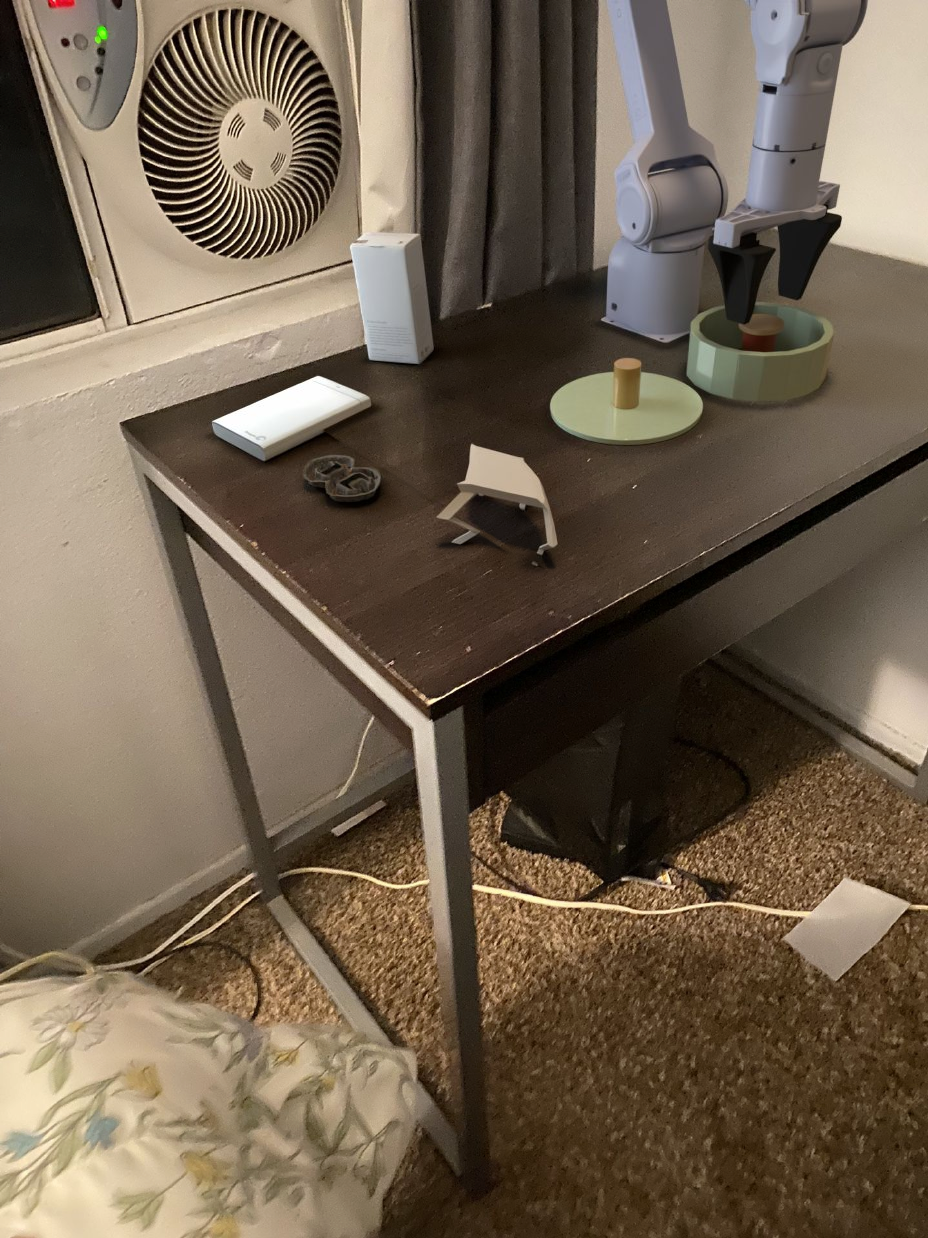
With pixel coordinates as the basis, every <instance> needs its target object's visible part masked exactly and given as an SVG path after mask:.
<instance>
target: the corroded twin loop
mask: <svg viewBox="0 0 928 1238" xmlns="http://www.w3.org/2000/svg"><path fill="white" fill-rule="evenodd" d="M333 469H334V470H333ZM381 476H382V474H381V473H380V472H379V470H378V469H377V468H376V467H372V466H356V467H355V458H354V457H351V456H349V455H346V454H345V455H342V454H328V455H323V456H318V457H314V458H312V459H309V460H308V461H307V462H306V464H305V465H304V467H303V468H302V478H303V479H305V480H307V481H308V484H309V485H311V487H313V488H321V489H325V491H326V494H328V495H329V497H330V499H332V500H333V501H335V502H337V503H339V502H340V503H341V502H342V503H343V502H344V503H354V502H360V501H363V500H370V499H371V498H373V497H374V496H375V493H376V490H377V489H378V488H379V486H380V483H381ZM346 485H348V486H349V487H350V488H349V487H347V486H346Z"/></svg>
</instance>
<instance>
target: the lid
mask: <svg viewBox="0 0 928 1238" xmlns="http://www.w3.org/2000/svg"><path fill="white" fill-rule="evenodd" d="M642 365H643V364H642V361H641V360H640V359H638V358H633V357H622V358H619V359H616V360H615V361H614V362H613V371H607V372H600V373H595V374H590V375H587V376H583V377H580V378H577V379H575V380H572V381H570V382H568V383H566V384H564V385H563V386H562V387H560V388H559V389H558V390H557V391H556V392H555V393H554V394H553V395H552V397H551V399H550V403H549V413H550V416H551V419H552V420H553V421H554V423H555V424H556V425H557V427H559V428H560V429H562V430H563V431H565V432H566V433H568V434H570V435H572V436H574V437H577V438H579V439H582V440H586V441H590V442H595V443H598V444H606V445H615V446H638V445H639V446H640V445H649V444H656V443H661V442H664V441H668V440H671V439H674V438H677V437H679V436H681V435H684V434H686V433H687V432H689V431H690V430H692V429H693V428H695V426H697V424H698V423H699V422H700V421H701V418H702V416H703V411H704V402H703V400H702V397H701V396H700V395H699V393H698V392H697V391H696V390H695V389H694V388H692V387H691V386H689V385H687V384H686V383H684V382H682V381H680V380H678V379H675V378H673V377H670V376H665V375H662V374H658V373H652V372H644V371H642Z"/></svg>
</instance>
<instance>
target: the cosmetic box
mask: <svg viewBox="0 0 928 1238" xmlns="http://www.w3.org/2000/svg"><path fill="white" fill-rule="evenodd" d="M422 245H423V244H422V236H421V234H420V233H408V232H407V233H405V232H380V231H379V232H377V231H376V232H375V231H366V232H365V233H363V234H362V235H361V236H359V237H358V238H357V239H356V240H354V241H353V242H352V243H351V244H350V246H349V249H350V254H351V260H352V265H353V272H354V277H355V283H356V288H357V295H358V300H359V306H360V313H361V319H362V325H363V329H364V336H365V343H366V348H367V349H366V350H367V354H368V359H369V360H370V361H376V362H388V363H389V362H390V363H399V364H400V363H401V364H412V365H421V364H422V363H423V362H424V361H425V360H426V359H427V358H428V357H429V356H430V355H431V354H432V353H433V351H434V348H435V347H434V346H435V345H434V339H433V333H432V332H433V330H432V322H431V321H432V320H431V314H430V306H429V296H428V287H427V281H426V278H427V277H426V271H425V261H424V255H423V246H422Z"/></svg>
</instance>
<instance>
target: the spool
mask: <svg viewBox="0 0 928 1238" xmlns="http://www.w3.org/2000/svg"><path fill="white" fill-rule="evenodd" d="M739 329H740V330H741V331H743V338H742V345H741V348H740V350H742V351H753V352H775V350H774V349H775V343H776V337H777V333H779V332H781V331H782V330H783V329H784V321H783V320H782V319H781V318H779V317H777V316H774V315H769V314H752V317H751V320H750V322H749V323H747V324H745V325H743V324H740V323H739Z"/></svg>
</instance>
